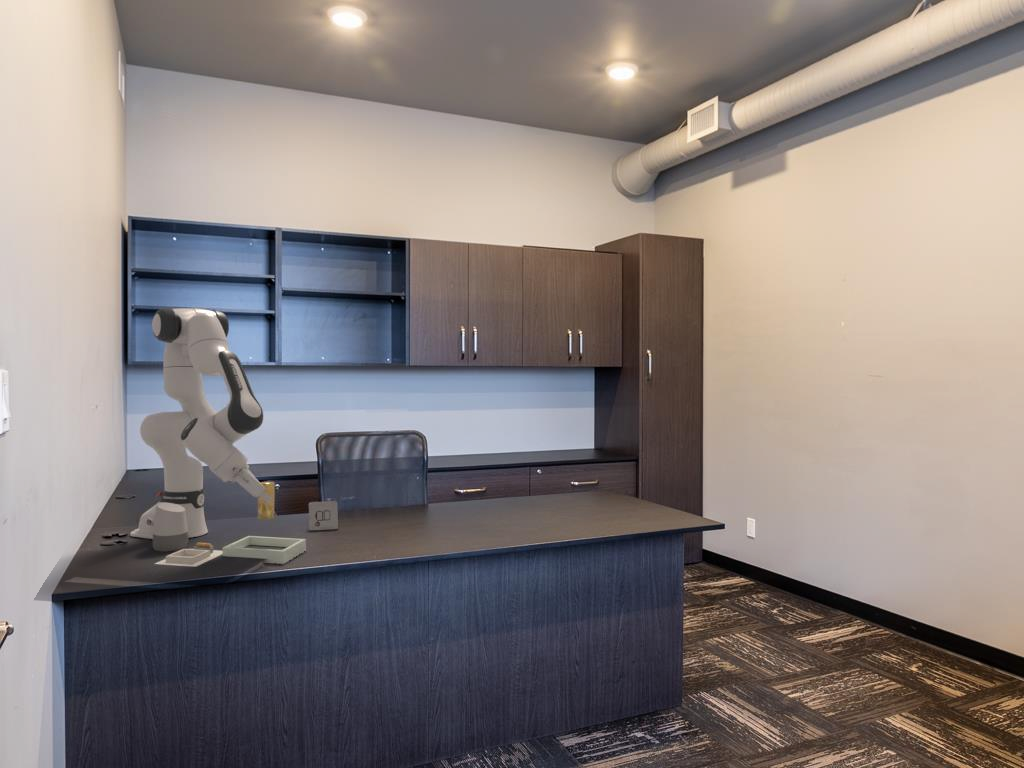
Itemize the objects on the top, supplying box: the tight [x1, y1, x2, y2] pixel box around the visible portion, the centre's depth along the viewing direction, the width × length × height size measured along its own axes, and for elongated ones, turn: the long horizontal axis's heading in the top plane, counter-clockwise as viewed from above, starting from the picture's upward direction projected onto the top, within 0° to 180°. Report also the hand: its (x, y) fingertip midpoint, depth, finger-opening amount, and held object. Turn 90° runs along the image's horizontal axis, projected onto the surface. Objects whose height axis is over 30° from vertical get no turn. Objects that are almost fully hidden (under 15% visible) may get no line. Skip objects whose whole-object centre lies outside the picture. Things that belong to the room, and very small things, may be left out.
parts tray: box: [221, 535, 307, 565], centre depth 202 cm, size 18×14×4 cm
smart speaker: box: [152, 502, 189, 553], centre depth 204 cm, size 10×9×14 cm
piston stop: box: [257, 481, 276, 521], centre depth 202 cm, size 4×4×10 cm
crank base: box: [154, 542, 223, 567], centre depth 195 cm, size 12×16×4 cm
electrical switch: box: [308, 500, 339, 532], centre depth 237 cm, size 9×5×9 cm, turn 110°
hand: (268, 499), depth 202 cm, fingers closed on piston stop, 4 cm apart
